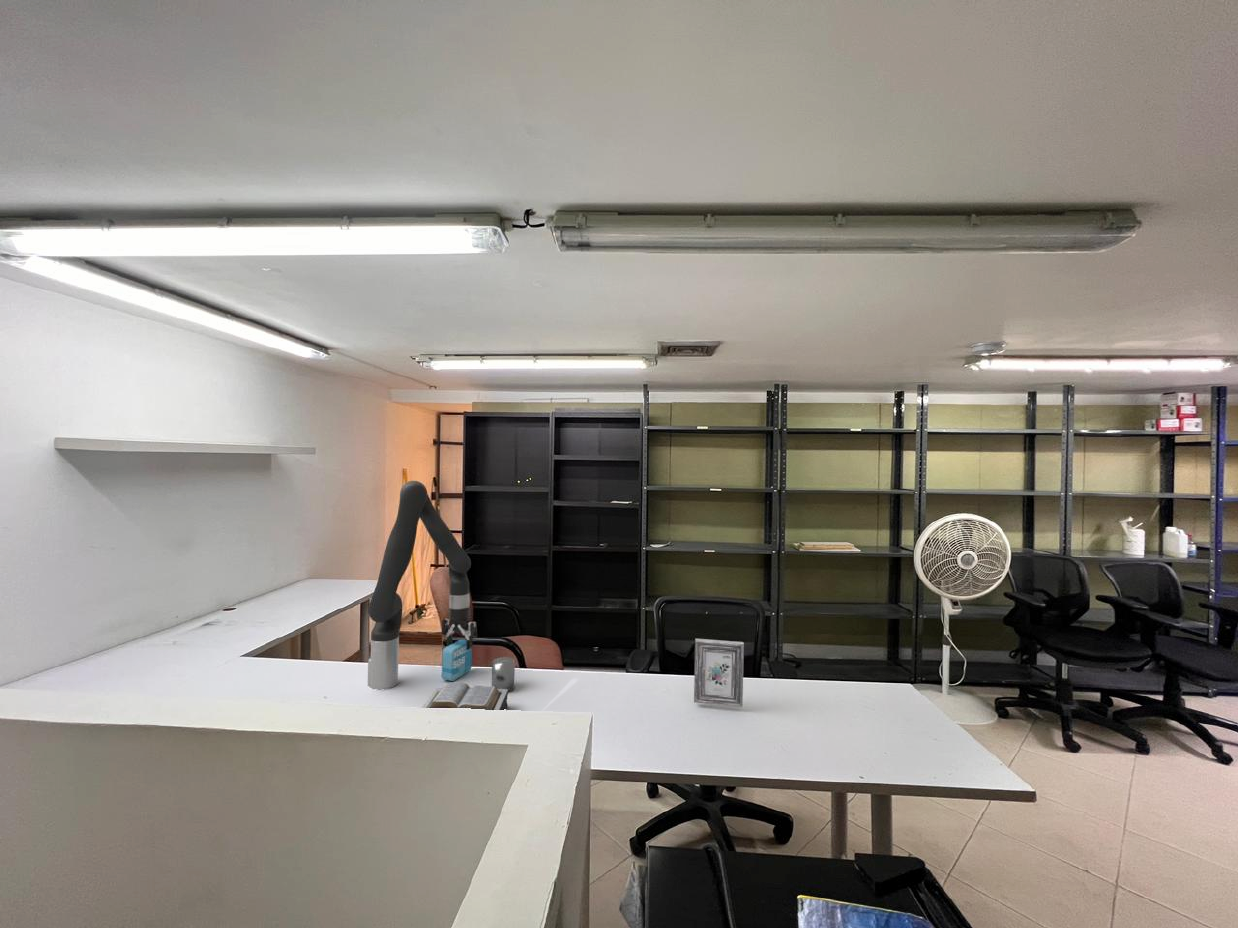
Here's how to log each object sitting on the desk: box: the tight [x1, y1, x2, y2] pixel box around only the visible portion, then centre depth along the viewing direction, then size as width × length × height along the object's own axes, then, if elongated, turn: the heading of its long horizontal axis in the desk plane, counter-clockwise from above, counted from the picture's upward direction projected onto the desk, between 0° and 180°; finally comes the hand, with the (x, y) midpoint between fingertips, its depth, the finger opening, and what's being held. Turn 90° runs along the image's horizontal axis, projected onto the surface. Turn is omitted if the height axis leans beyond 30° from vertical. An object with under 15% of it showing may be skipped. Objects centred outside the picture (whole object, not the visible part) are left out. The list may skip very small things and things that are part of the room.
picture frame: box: [693, 638, 745, 708], centre depth 170 cm, size 16×2×22 cm, turn 81°
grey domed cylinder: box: [491, 656, 516, 694], centre depth 177 cm, size 8×8×10 cm
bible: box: [421, 681, 509, 710], centre depth 154 cm, size 23×27×10 cm
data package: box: [441, 639, 473, 682], centre depth 187 cm, size 12×4×12 cm, turn 160°
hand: (459, 647), depth 187 cm, fingers open, 8 cm apart
